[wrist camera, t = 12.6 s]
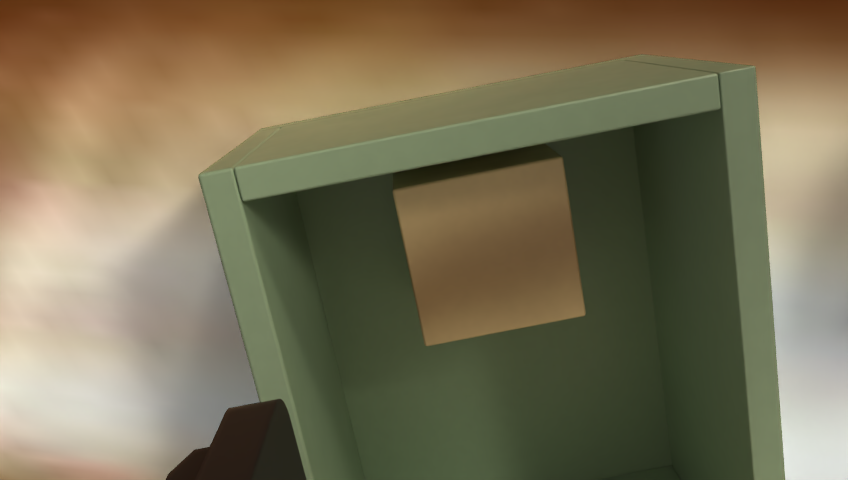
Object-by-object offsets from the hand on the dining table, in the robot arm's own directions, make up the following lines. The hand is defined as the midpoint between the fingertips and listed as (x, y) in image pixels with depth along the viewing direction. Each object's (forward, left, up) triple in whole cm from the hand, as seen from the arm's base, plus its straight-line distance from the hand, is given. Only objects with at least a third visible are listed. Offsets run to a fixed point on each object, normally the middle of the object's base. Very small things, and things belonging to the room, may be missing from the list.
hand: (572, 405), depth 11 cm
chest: (+5, 0, -18) cm, 19 cm away
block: (+1, 0, -17) cm, 17 cm away
